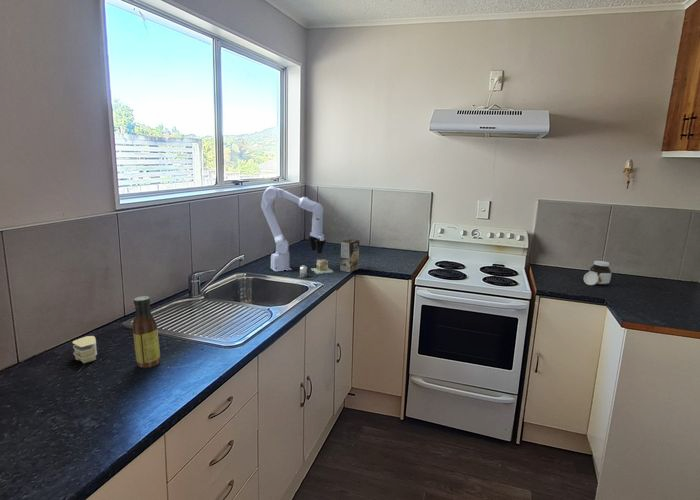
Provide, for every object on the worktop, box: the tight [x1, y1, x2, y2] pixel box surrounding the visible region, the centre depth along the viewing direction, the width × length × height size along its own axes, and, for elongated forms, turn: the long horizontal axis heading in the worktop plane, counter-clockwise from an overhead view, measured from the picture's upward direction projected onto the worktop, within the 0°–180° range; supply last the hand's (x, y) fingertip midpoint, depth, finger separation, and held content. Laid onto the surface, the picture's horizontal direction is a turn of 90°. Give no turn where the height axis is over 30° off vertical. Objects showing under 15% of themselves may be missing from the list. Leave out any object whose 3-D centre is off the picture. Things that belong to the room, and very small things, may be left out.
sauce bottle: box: [132, 295, 161, 369], centre depth 122 cm, size 6×6×20 cm
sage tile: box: [310, 267, 335, 275], centre depth 230 cm, size 9×9×1 cm
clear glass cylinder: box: [299, 265, 308, 278], centre depth 218 cm, size 4×4×5 cm
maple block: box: [316, 258, 329, 271], centre depth 229 cm, size 4×4×5 cm
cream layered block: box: [72, 335, 98, 364], centre depth 126 cm, size 10×9×6 cm
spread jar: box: [583, 260, 612, 287], centre depth 223 cm, size 12×11×12 cm
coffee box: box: [339, 238, 360, 273], centre depth 233 cm, size 9×6×16 cm
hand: (316, 251), depth 231 cm, fingers open, 7 cm apart
